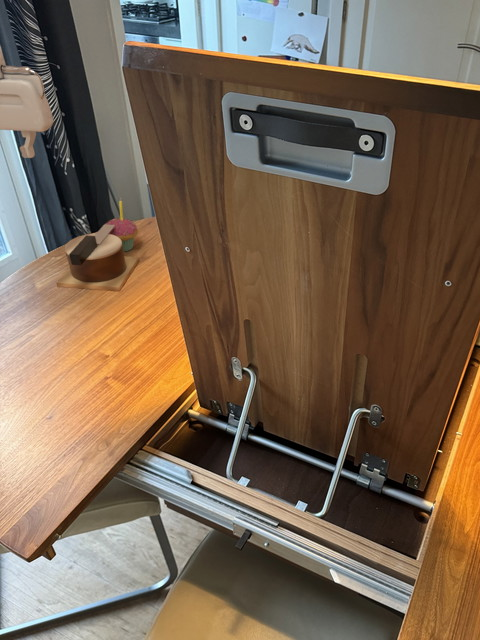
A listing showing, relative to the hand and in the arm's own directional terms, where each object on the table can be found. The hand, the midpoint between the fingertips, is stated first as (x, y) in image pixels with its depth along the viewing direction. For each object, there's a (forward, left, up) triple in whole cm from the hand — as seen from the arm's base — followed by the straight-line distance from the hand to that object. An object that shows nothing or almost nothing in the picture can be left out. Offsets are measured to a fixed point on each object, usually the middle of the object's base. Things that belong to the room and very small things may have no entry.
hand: (3, 155), depth 90 cm
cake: (+7, +12, -29) cm, 32 cm away
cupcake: (+8, +25, -29) cm, 39 cm away
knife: (+7, +12, -22) cm, 26 cm away
